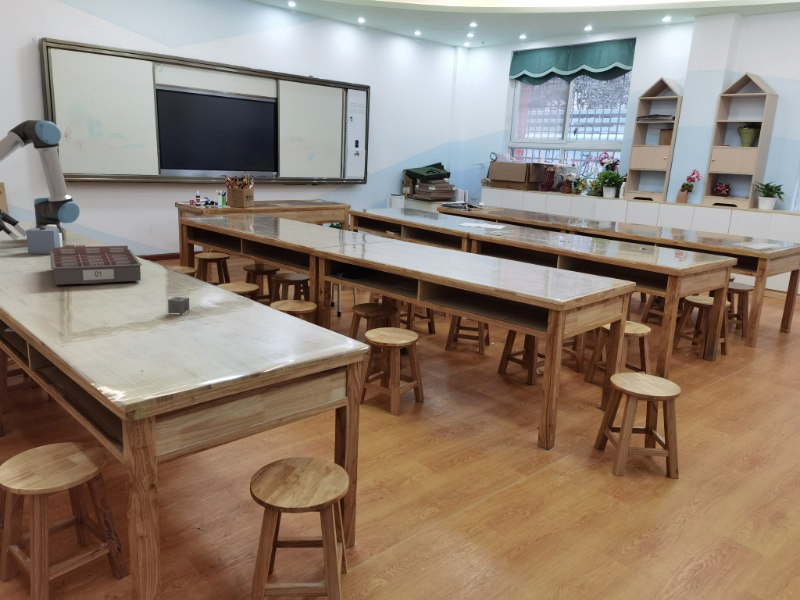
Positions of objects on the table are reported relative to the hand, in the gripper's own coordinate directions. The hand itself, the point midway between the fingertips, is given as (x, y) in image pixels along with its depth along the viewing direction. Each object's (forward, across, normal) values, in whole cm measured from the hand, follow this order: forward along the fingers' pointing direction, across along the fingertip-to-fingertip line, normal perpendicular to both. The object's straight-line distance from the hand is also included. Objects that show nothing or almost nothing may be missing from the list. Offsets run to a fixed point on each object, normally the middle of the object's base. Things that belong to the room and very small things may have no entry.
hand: (21, 236), depth 295 cm
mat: (+12, 0, +1) cm, 12 cm away
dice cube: (+66, +118, +54) cm, 145 cm away
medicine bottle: (+12, -17, +1) cm, 21 cm away
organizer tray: (+38, +57, +26) cm, 73 cm away
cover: (+12, 0, +2) cm, 12 cm away
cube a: (+20, +1, +9) cm, 22 cm away
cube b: (+24, +1, +13) cm, 27 cm away
